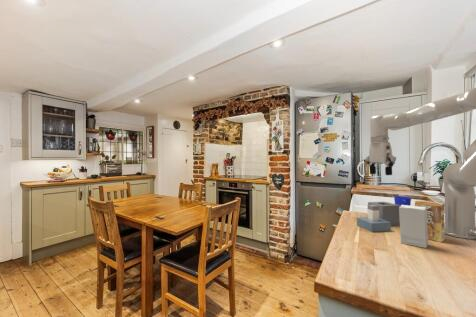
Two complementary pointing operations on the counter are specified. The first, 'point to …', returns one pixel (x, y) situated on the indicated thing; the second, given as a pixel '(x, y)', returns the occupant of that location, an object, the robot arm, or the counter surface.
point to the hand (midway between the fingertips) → (380, 174)
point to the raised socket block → (388, 212)
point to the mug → (402, 200)
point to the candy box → (434, 219)
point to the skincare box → (413, 225)
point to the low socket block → (373, 224)
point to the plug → (373, 212)
